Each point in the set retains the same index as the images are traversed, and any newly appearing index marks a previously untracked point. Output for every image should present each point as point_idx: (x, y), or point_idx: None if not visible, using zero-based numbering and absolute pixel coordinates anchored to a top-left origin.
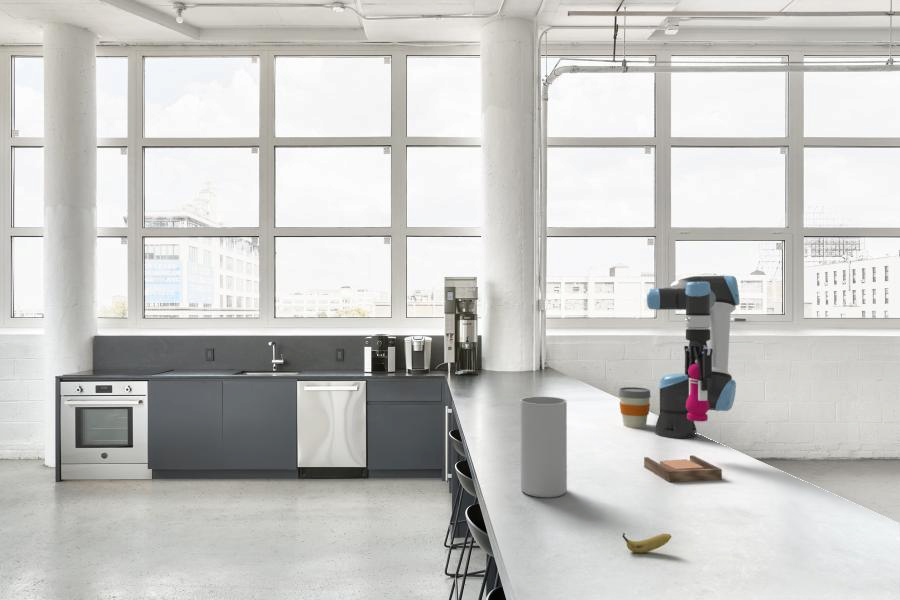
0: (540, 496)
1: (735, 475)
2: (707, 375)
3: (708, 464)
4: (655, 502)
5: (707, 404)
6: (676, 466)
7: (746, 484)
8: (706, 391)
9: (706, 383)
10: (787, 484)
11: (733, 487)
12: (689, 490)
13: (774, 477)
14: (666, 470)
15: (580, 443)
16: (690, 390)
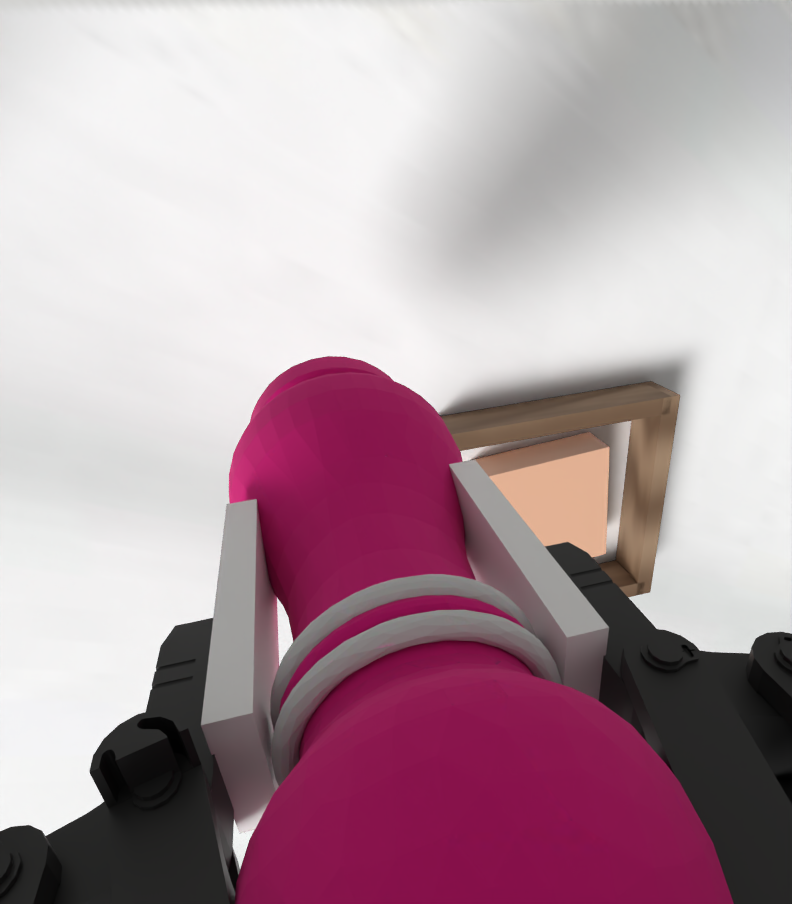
0: None
1: (614, 292)
2: (731, 722)
3: (602, 422)
4: (762, 631)
5: (445, 432)
6: (577, 544)
7: (725, 308)
8: (520, 526)
9: (636, 622)
10: (784, 109)
11: (736, 377)
12: (714, 529)
13: (686, 102)
14: (635, 595)
15: (46, 792)
16: (277, 643)
